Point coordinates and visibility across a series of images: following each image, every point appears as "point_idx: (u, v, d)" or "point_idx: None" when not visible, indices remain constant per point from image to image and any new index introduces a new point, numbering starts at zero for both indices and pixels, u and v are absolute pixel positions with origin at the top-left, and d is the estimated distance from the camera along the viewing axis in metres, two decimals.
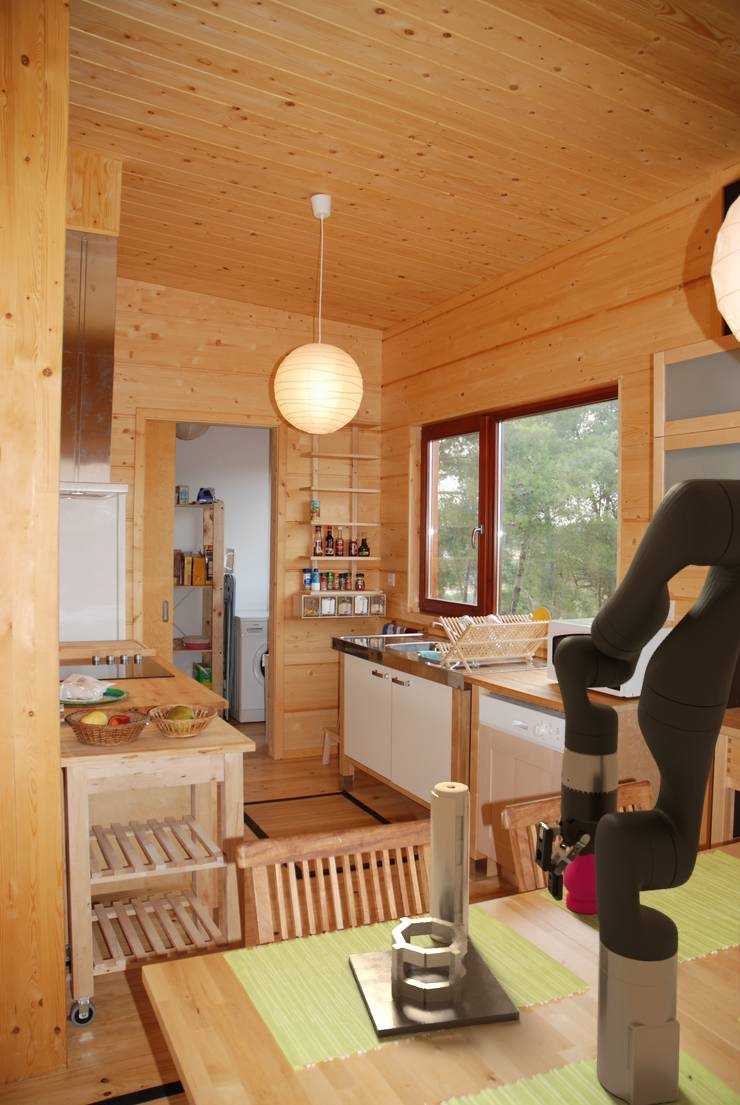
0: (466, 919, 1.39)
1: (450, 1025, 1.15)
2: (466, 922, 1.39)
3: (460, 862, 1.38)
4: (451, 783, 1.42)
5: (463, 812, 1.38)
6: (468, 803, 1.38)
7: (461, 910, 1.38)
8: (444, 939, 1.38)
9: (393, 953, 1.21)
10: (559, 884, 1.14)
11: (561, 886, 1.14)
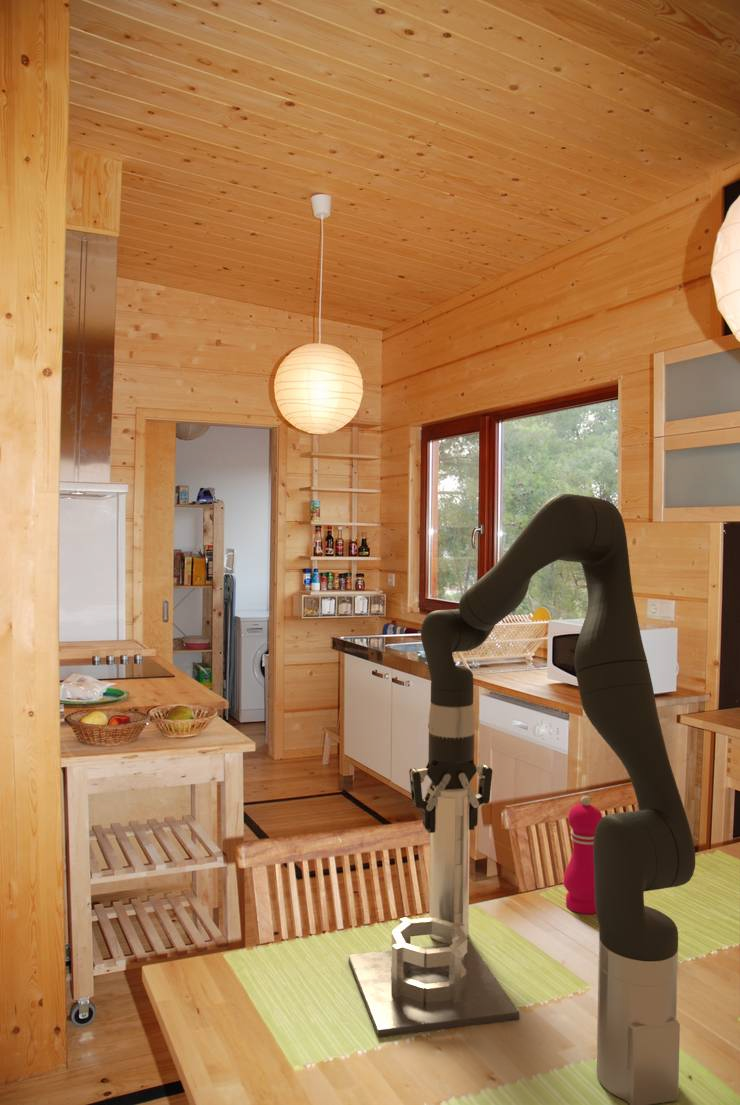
0: (466, 919, 1.39)
1: (450, 1025, 1.15)
2: (466, 922, 1.39)
3: (460, 862, 1.38)
4: None
5: (463, 812, 1.38)
6: (468, 803, 1.38)
7: (461, 910, 1.38)
8: (444, 939, 1.38)
9: (393, 953, 1.21)
10: (430, 818, 1.38)
11: (432, 820, 1.38)
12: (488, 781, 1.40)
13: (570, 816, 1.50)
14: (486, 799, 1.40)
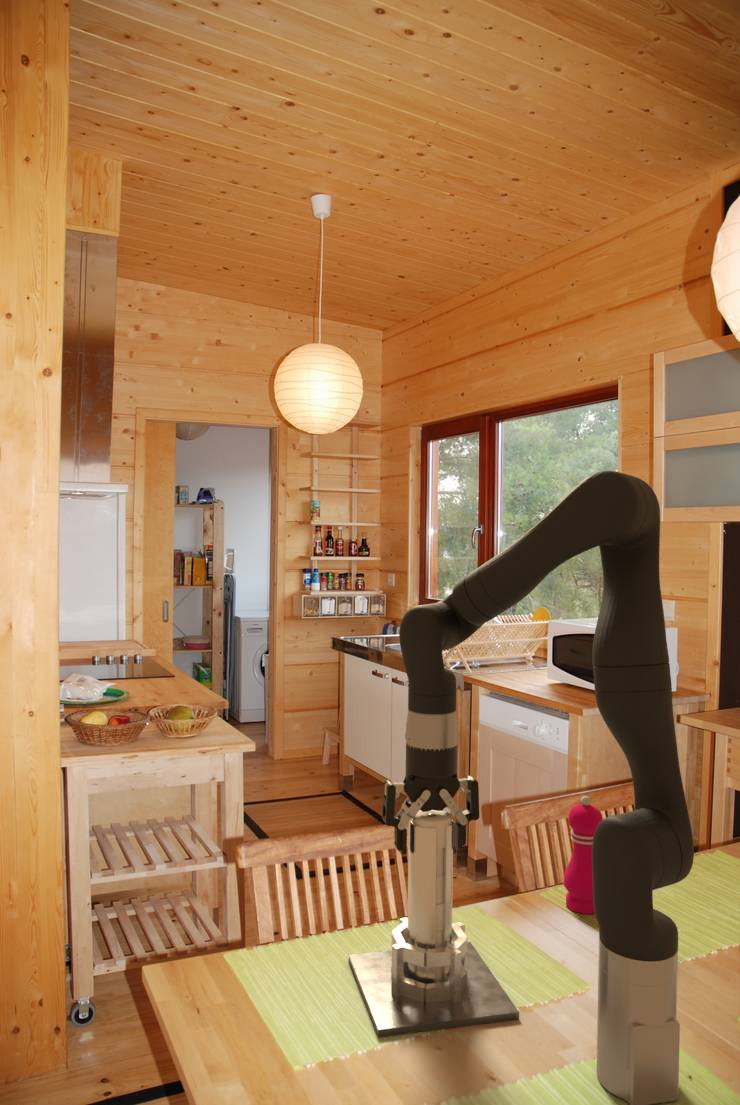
0: (448, 965, 1.22)
1: (450, 1025, 1.15)
2: None
3: (442, 901, 1.22)
4: (432, 810, 1.25)
5: (445, 844, 1.21)
6: (450, 834, 1.22)
7: None
8: None
9: (393, 953, 1.21)
10: (403, 838, 1.22)
11: (405, 840, 1.22)
12: (475, 795, 1.24)
13: (570, 816, 1.50)
14: (476, 816, 1.24)
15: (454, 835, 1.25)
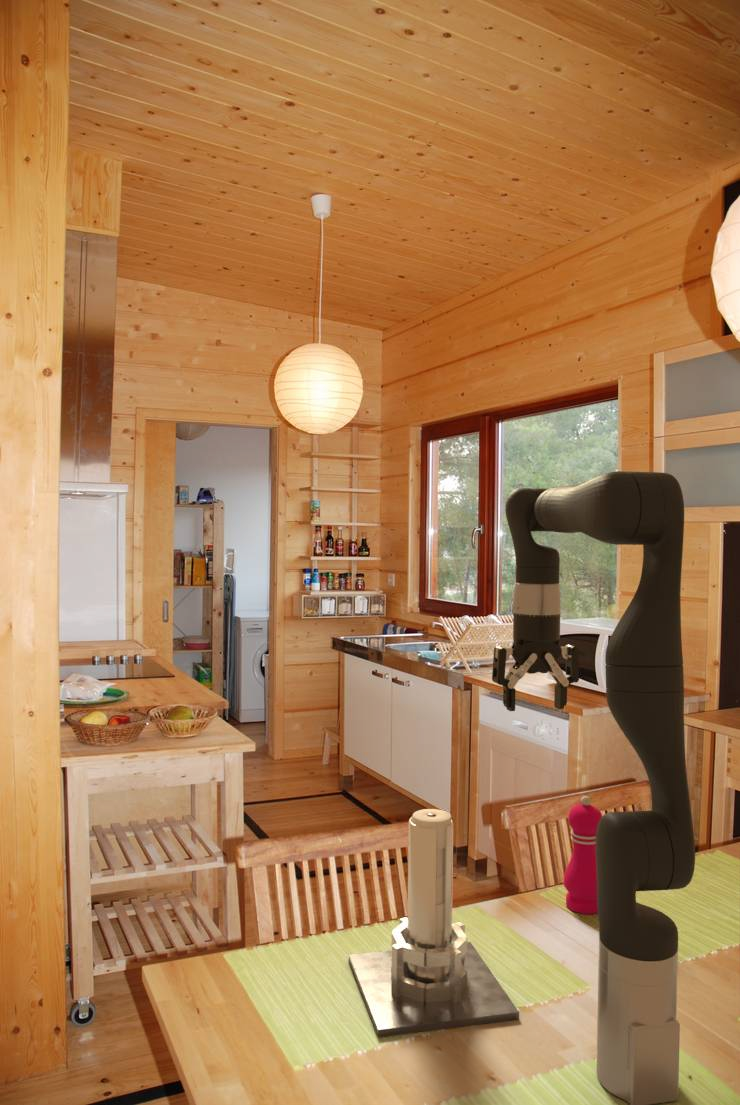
0: (448, 965, 1.22)
1: (450, 1025, 1.15)
2: None
3: (441, 901, 1.22)
4: (432, 810, 1.25)
5: (445, 844, 1.21)
6: (450, 834, 1.22)
7: None
8: None
9: (393, 953, 1.21)
10: (512, 696, 1.36)
11: (514, 698, 1.36)
12: (575, 660, 1.38)
13: (570, 816, 1.50)
14: (576, 678, 1.38)
15: (556, 697, 1.40)
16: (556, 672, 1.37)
